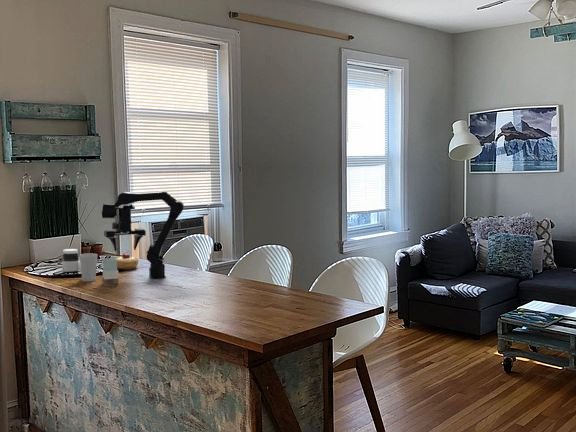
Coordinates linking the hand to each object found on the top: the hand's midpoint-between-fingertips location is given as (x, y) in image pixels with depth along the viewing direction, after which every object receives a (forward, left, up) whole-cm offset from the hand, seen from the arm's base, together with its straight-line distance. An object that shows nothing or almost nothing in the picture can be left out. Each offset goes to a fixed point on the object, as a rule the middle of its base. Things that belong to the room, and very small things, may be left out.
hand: (125, 250), depth 298 cm
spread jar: (+20, -19, -13) cm, 31 cm away
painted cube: (+10, +13, -6) cm, 18 cm away
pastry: (-6, -21, -13) cm, 25 cm away
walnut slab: (+10, +13, -13) cm, 21 cm away
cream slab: (+10, +13, -10) cm, 19 cm away
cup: (+17, -1, -13) cm, 22 cm away
